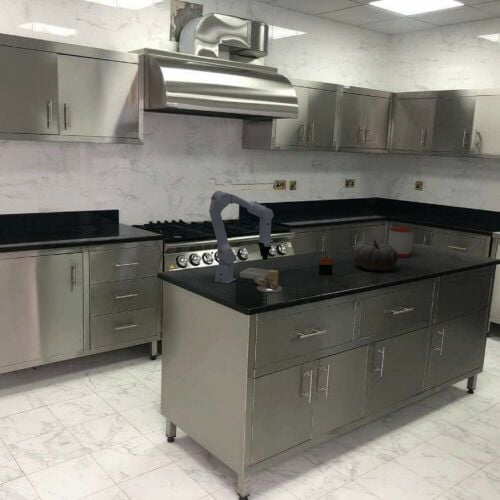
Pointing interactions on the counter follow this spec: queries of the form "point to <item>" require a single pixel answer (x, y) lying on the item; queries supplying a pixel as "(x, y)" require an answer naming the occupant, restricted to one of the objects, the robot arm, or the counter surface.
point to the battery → (325, 265)
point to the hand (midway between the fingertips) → (263, 258)
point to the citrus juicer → (401, 240)
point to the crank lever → (266, 282)
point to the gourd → (375, 256)
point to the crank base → (268, 289)
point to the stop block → (273, 275)
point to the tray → (254, 273)
